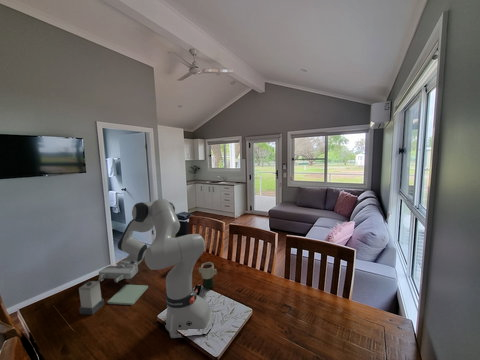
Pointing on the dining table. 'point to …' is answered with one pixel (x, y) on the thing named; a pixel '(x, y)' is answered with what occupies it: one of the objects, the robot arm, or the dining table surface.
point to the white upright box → (90, 294)
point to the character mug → (207, 274)
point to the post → (91, 310)
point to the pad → (128, 294)
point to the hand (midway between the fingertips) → (107, 280)
